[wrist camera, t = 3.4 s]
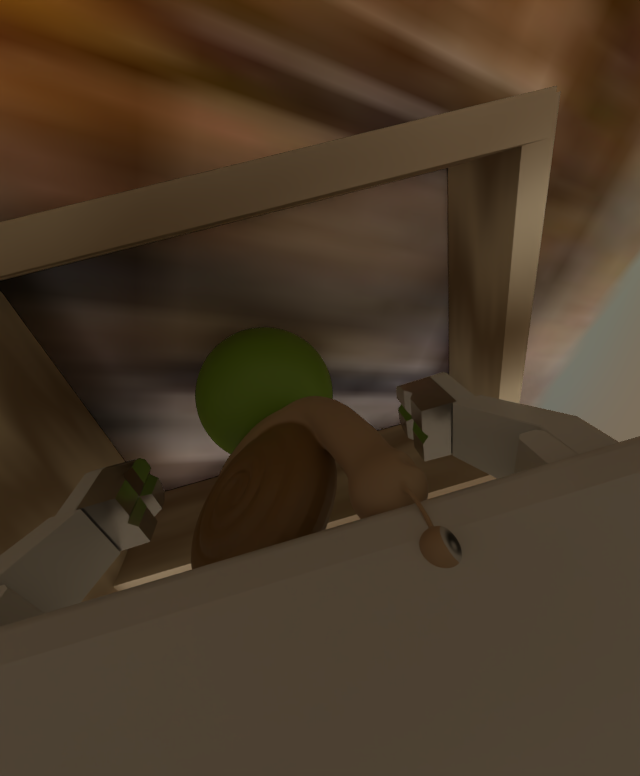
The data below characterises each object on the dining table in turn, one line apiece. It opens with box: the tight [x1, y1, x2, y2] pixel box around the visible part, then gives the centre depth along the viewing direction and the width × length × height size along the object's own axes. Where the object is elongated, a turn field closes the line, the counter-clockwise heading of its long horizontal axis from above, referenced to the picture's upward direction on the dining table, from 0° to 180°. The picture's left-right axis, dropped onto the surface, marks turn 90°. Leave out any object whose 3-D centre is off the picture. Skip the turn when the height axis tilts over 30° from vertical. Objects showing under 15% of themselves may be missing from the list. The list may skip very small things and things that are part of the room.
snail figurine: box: [191, 327, 462, 569], centre depth 10 cm, size 5×6×12 cm
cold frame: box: [0, 86, 561, 602], centre depth 12 cm, size 14×20×7 cm
